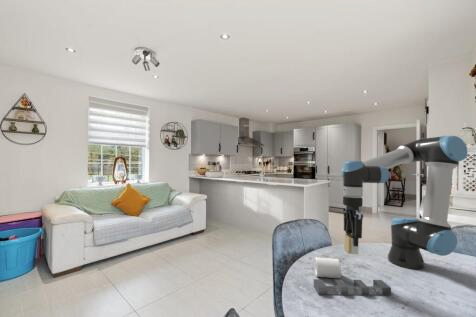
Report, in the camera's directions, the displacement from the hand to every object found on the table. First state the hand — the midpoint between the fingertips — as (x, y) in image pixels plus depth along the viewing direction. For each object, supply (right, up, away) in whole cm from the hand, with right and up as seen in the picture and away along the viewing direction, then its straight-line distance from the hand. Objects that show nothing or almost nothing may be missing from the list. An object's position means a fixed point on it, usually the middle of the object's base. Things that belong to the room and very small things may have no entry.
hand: (352, 251), depth 97 cm
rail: (-4, -13, -6) cm, 15 cm away
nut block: (0, 0, 0) cm, 1 cm away
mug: (-8, -14, +8) cm, 18 cm away
